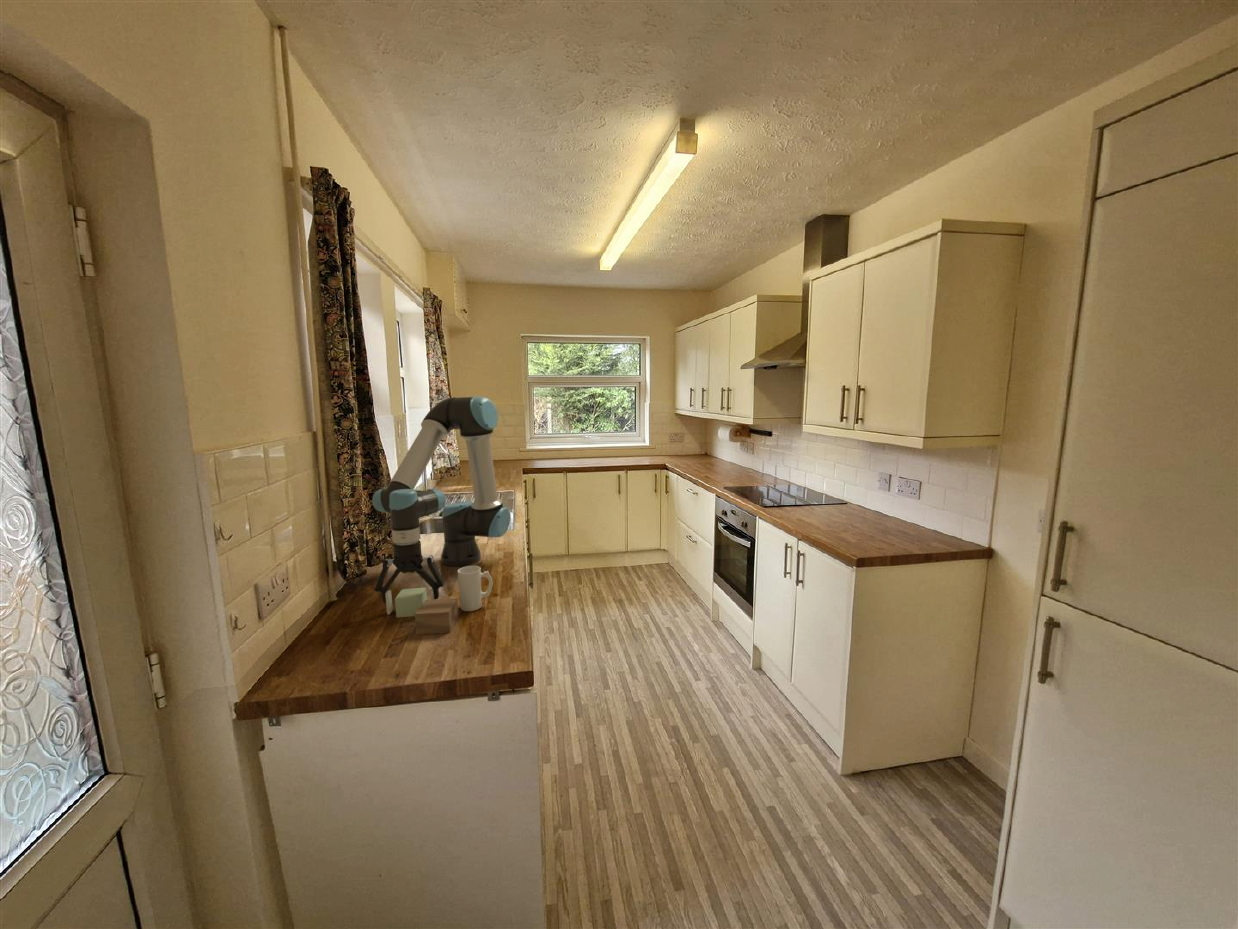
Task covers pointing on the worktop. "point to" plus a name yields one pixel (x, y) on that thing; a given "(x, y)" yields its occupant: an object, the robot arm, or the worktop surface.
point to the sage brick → (409, 601)
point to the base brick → (436, 616)
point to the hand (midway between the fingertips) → (412, 610)
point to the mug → (472, 587)
